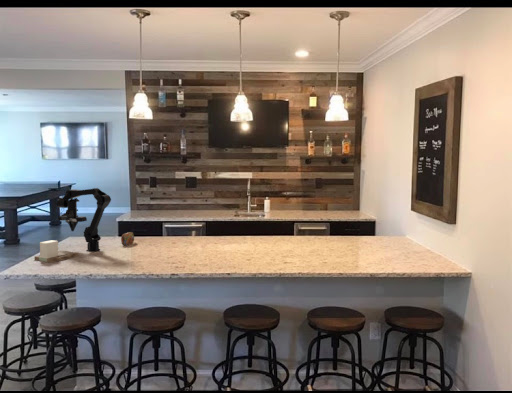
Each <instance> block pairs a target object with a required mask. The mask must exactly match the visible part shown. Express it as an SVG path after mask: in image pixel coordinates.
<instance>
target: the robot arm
mask: <svg viewBox="0 0 512 393" xmlns="http://www.w3.org/2000/svg"><path fill="white" fill-rule="evenodd" d="M87 195H88V196H90V195H92V196H93V198H94V199H95V201H96V208H95V212H94V214H93V218H92V219H91V221H90V225H89V226H86V227H85V229H84V231H83V237H84V239H85V243H87V244H86V246H87V247H86V248H87V249H86V252H97V251H100V250H101V249H100V243H99V242H100V241H101V239H102V237H101V235H99V234H98V232H99V229H98V227H99V224H100V222H101V219H102V217H103V215H104V212H105V209H106V208H107V207H108V206H109V205H110V203H111V201H112V198H111V196H110V195H109V194H107V193H106V192H104V191H102V190H101V189H100V188H98V187H94V188H88V189H74V188H73V189H67V190H66V191H65V194H64V195H63V197H58V199H57V200H56V202H55V205H56V206H57V208H62V209H66V210H65V212H64V213H63V214H61V215H59V216H58V217H57V221H65V223H67V224H68V226H69V229H70V231H71V232H74V231H75V229H76V227H77V226H78V223H81V222H87V221H88V220H87V219H88V218H87V216H79V215H78V212H79V208H77V207H78V204H77V202H80V200H79V199H78V198H79V197H82V196H87Z"/></svg>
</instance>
